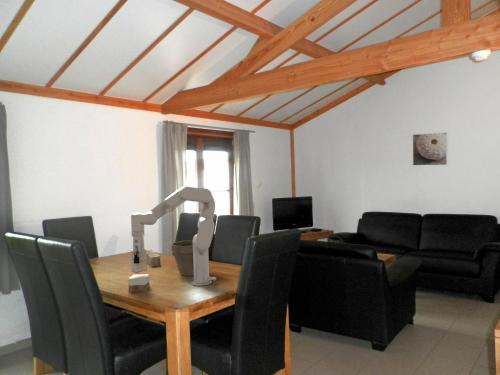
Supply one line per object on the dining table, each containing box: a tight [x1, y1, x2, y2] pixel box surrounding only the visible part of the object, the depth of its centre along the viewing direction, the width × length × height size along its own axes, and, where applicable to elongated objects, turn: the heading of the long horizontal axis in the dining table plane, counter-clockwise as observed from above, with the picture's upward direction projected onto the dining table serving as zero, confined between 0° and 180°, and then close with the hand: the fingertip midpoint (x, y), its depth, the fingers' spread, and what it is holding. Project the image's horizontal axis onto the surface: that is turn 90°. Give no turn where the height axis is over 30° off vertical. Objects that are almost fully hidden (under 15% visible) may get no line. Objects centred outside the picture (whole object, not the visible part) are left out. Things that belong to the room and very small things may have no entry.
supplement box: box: [130, 248, 148, 274], centre depth 241 cm, size 8×5×13 cm, turn 140°
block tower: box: [146, 249, 161, 268], centre depth 317 cm, size 8×8×29 cm
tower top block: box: [127, 273, 151, 286], centre depth 241 cm, size 10×10×4 cm
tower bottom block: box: [128, 281, 150, 292], centre depth 242 cm, size 10×10×4 cm
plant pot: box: [170, 239, 194, 277], centre depth 278 cm, size 25×25×22 cm
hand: (138, 261), depth 241 cm, fingers closed on supplement box, 9 cm apart
